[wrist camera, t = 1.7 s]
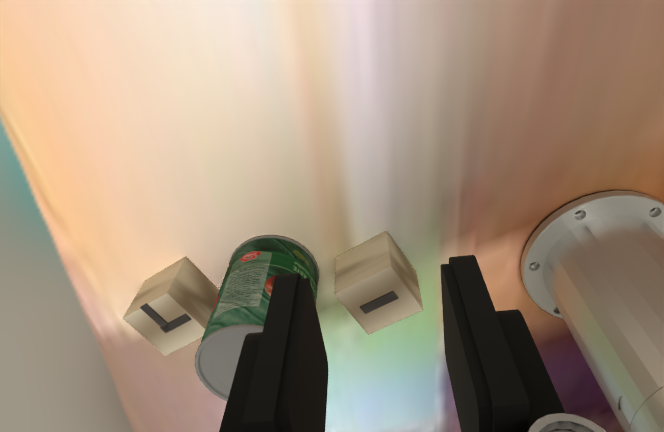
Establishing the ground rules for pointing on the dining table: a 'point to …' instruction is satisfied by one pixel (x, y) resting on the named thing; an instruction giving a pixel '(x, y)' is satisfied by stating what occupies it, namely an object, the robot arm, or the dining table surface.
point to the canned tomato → (247, 304)
